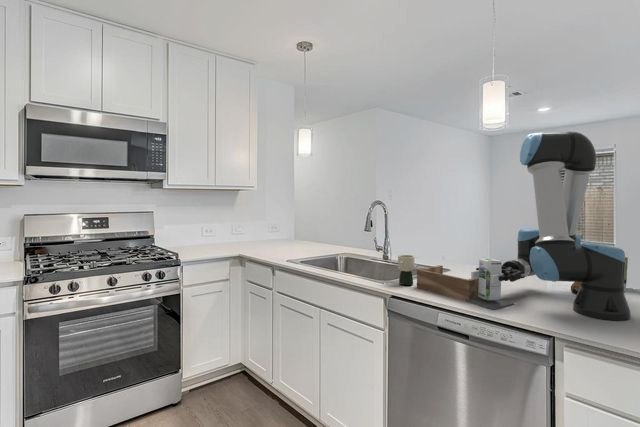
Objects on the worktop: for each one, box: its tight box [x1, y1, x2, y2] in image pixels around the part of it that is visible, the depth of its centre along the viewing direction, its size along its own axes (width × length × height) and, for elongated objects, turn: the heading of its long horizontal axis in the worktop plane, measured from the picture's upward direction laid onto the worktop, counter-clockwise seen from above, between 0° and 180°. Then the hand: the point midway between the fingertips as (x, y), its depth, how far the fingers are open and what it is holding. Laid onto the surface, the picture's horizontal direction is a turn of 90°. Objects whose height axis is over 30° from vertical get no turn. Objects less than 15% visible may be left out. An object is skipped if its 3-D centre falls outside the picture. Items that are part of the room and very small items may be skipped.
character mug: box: [397, 254, 415, 286], centre depth 160 cm, size 11×7×13 cm, turn 140°
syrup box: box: [478, 257, 503, 300], centre depth 132 cm, size 6×6×14 cm
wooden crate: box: [416, 265, 479, 302], centre depth 148 cm, size 16×25×8 cm, turn 34°
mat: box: [465, 297, 515, 311], centre depth 132 cm, size 12×12×1 cm
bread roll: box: [570, 282, 580, 296], centre depth 143 cm, size 10×10×8 cm
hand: (482, 277), depth 129 cm, fingers closed on syrup box, 7 cm apart
